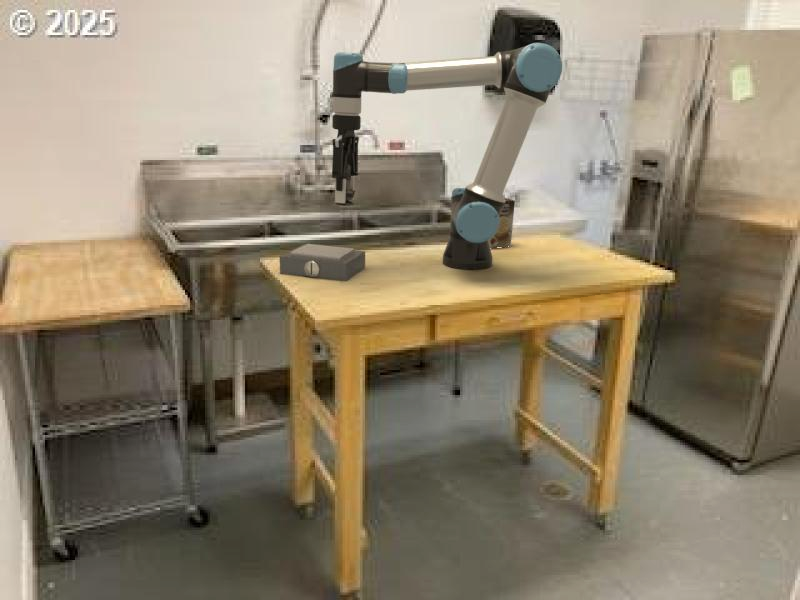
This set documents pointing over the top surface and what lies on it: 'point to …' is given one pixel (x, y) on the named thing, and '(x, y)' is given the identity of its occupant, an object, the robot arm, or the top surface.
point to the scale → (323, 262)
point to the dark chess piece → (347, 188)
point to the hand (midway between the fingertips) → (344, 200)
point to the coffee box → (504, 226)
